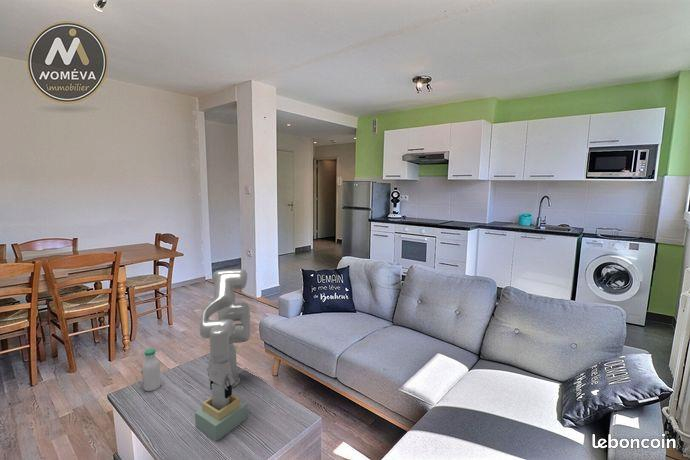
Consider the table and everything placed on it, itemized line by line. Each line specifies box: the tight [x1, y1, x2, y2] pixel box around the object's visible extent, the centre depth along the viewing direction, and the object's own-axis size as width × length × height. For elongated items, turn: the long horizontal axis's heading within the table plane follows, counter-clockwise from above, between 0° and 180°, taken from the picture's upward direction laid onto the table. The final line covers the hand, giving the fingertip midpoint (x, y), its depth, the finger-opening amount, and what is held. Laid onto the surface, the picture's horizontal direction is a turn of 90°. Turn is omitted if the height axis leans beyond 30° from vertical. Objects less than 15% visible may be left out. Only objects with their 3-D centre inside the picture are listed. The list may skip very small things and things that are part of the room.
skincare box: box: [211, 380, 230, 410], centre depth 141 cm, size 6×4×12 cm
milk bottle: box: [141, 348, 162, 392], centre depth 164 cm, size 8×8×20 cm
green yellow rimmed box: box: [194, 393, 248, 442], centre depth 142 cm, size 16×14×10 cm
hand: (221, 392), depth 141 cm, fingers open, 9 cm apart
